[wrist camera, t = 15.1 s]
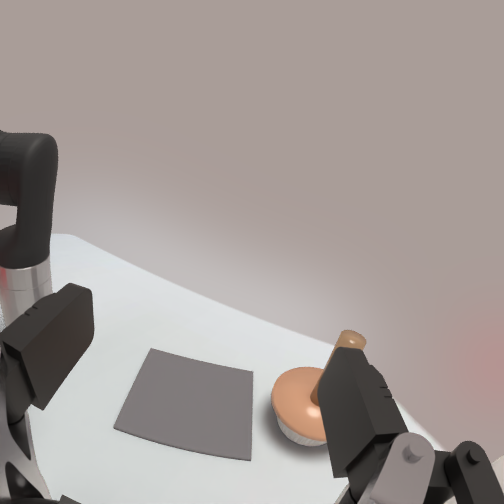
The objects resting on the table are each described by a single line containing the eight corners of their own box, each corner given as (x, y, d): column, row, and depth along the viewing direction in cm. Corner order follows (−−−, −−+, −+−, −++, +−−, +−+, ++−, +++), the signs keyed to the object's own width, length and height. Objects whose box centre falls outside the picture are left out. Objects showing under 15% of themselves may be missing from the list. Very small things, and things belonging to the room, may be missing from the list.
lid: (249, 395, 34) (274, 324, 31) (309, 360, 44) (334, 299, 41) (329, 459, 26) (380, 396, 22) (376, 405, 35) (414, 344, 32)
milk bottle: (423, 521, 17) (532, 432, 11) (448, 493, 21) (538, 403, 15) (450, 546, 11) (565, 462, 5) (472, 516, 15) (568, 429, 8)
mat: (113, 428, 28) (113, 426, 27) (150, 349, 45) (150, 348, 45) (250, 460, 29) (251, 459, 29) (252, 373, 46) (253, 371, 46)
